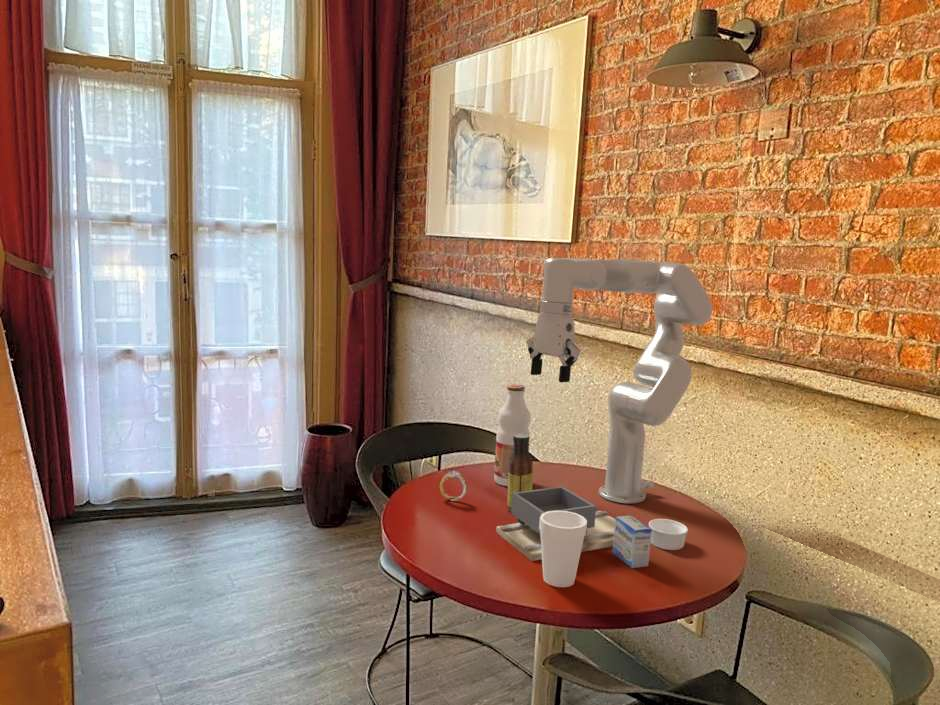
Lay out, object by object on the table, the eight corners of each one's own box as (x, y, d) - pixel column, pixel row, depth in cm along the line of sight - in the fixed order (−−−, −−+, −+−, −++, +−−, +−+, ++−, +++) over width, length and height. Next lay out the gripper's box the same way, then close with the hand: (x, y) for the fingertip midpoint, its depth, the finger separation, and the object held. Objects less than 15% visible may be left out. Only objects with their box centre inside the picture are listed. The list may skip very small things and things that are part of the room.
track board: (599, 516, 180) (600, 508, 180) (641, 541, 166) (642, 532, 166) (496, 532, 167) (496, 523, 166) (531, 561, 153) (532, 551, 152)
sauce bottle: (531, 507, 184) (536, 433, 180) (531, 516, 177) (536, 439, 174) (506, 505, 184) (510, 431, 181) (505, 514, 178) (509, 437, 175)
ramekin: (690, 542, 167) (692, 524, 167) (680, 555, 160) (682, 537, 159) (653, 532, 172) (654, 515, 171) (642, 545, 164) (643, 527, 163)
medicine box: (611, 553, 159) (614, 516, 157) (628, 551, 160) (631, 514, 159) (631, 569, 151) (634, 530, 150) (649, 566, 153) (652, 528, 152)
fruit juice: (513, 490, 196) (519, 390, 192) (487, 481, 202) (492, 384, 198) (533, 482, 203) (539, 386, 199) (507, 474, 209) (513, 381, 205)
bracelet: (466, 500, 186) (468, 471, 185) (463, 504, 183) (465, 475, 182) (441, 496, 188) (443, 467, 187) (437, 500, 185) (439, 471, 184)
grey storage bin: (560, 515, 173) (562, 486, 172) (593, 537, 161) (596, 506, 160) (510, 523, 167) (512, 492, 165) (541, 546, 155) (543, 513, 153)
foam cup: (579, 571, 149) (584, 512, 147) (585, 592, 140) (590, 529, 138) (534, 568, 149) (538, 509, 147) (536, 589, 140) (541, 526, 138)
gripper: (593, 313, 168) (586, 384, 171) (541, 305, 182) (535, 371, 184) (571, 313, 164) (564, 385, 166) (520, 305, 177) (514, 372, 179)
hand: (549, 378), depth 175 cm, fingers open, 9 cm apart
